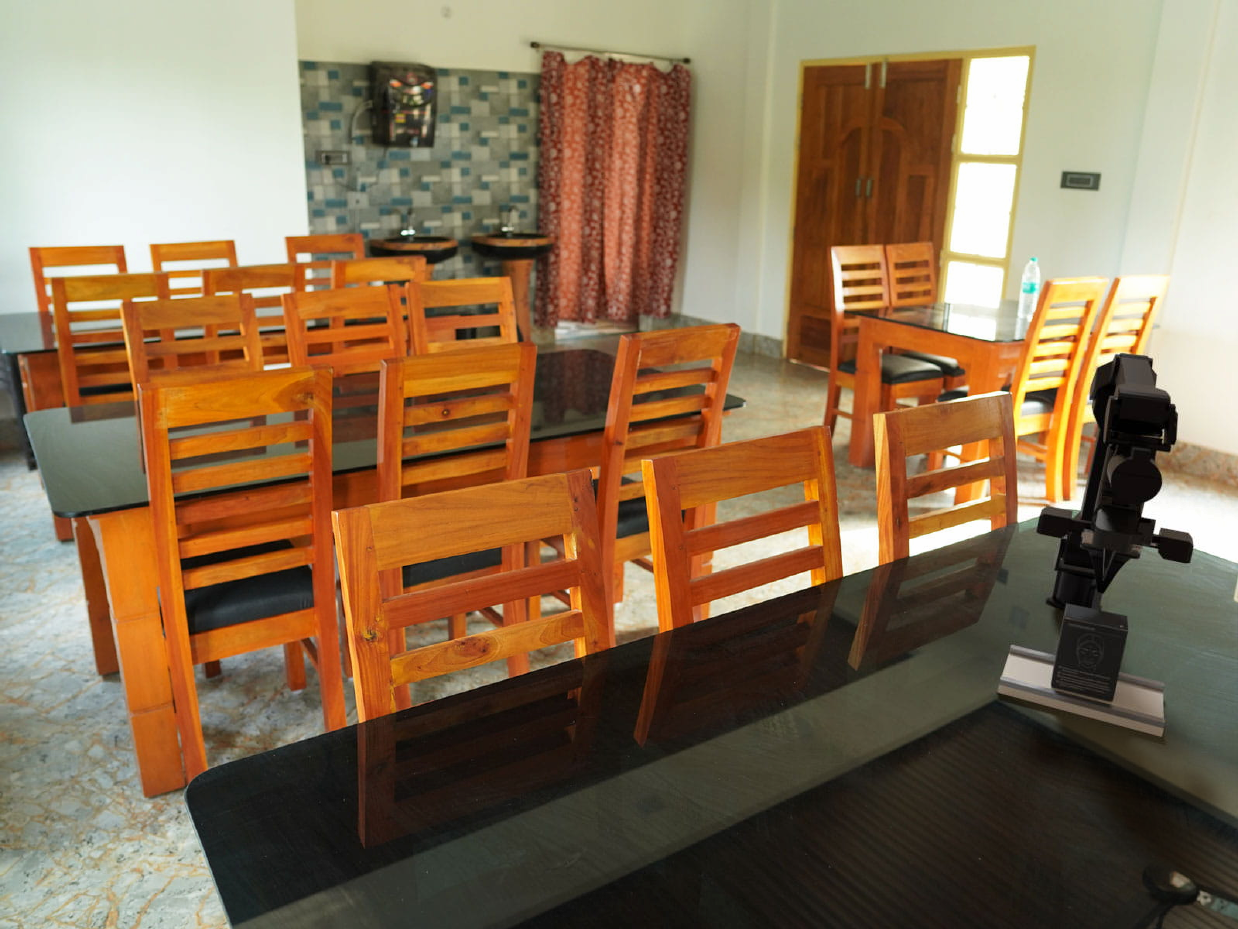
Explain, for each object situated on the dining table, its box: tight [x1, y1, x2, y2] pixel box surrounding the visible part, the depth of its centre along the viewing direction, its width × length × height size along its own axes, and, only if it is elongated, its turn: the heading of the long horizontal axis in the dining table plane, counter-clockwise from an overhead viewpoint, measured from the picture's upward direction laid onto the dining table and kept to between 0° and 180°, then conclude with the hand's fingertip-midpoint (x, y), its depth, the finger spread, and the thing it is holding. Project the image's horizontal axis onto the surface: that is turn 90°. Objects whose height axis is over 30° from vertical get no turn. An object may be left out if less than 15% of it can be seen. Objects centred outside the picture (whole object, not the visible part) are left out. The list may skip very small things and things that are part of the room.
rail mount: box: [997, 644, 1166, 738], centre depth 137 cm, size 20×12×2 cm, turn 63°
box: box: [1051, 604, 1129, 701], centre depth 135 cm, size 8×6×11 cm
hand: (1100, 592), depth 137 cm, fingers closed
